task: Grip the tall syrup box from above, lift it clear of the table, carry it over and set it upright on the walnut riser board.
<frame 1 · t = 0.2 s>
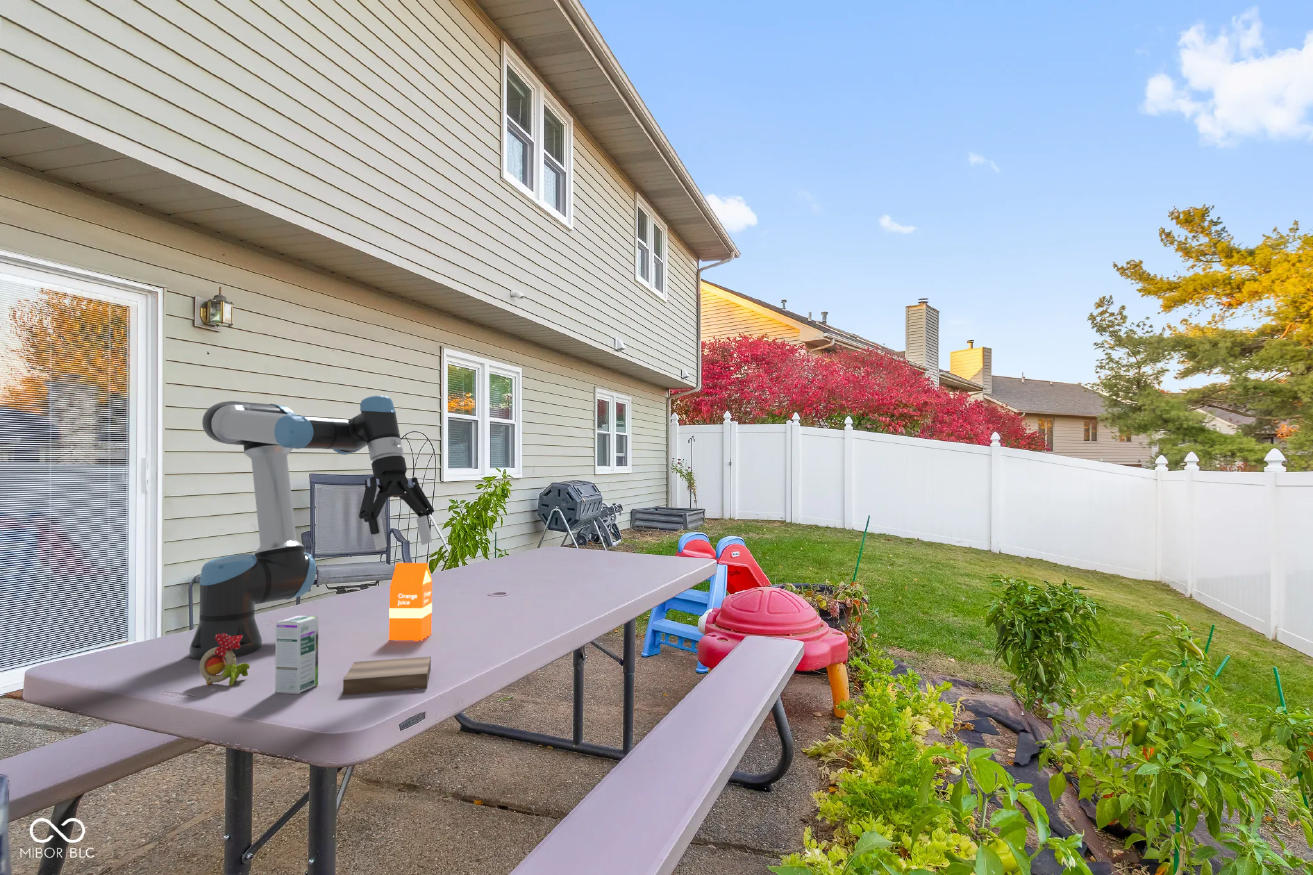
hand: (405, 545, 155), 28 cm above the table, tool tilted 20°, fingers open, 13 cm apart
syrup box: (296, 690, 138), on the table
orange juice: (410, 638, 181), on the table
walnut riser: (389, 681, 143), on the table
bird rattle: (222, 684, 141), on the table
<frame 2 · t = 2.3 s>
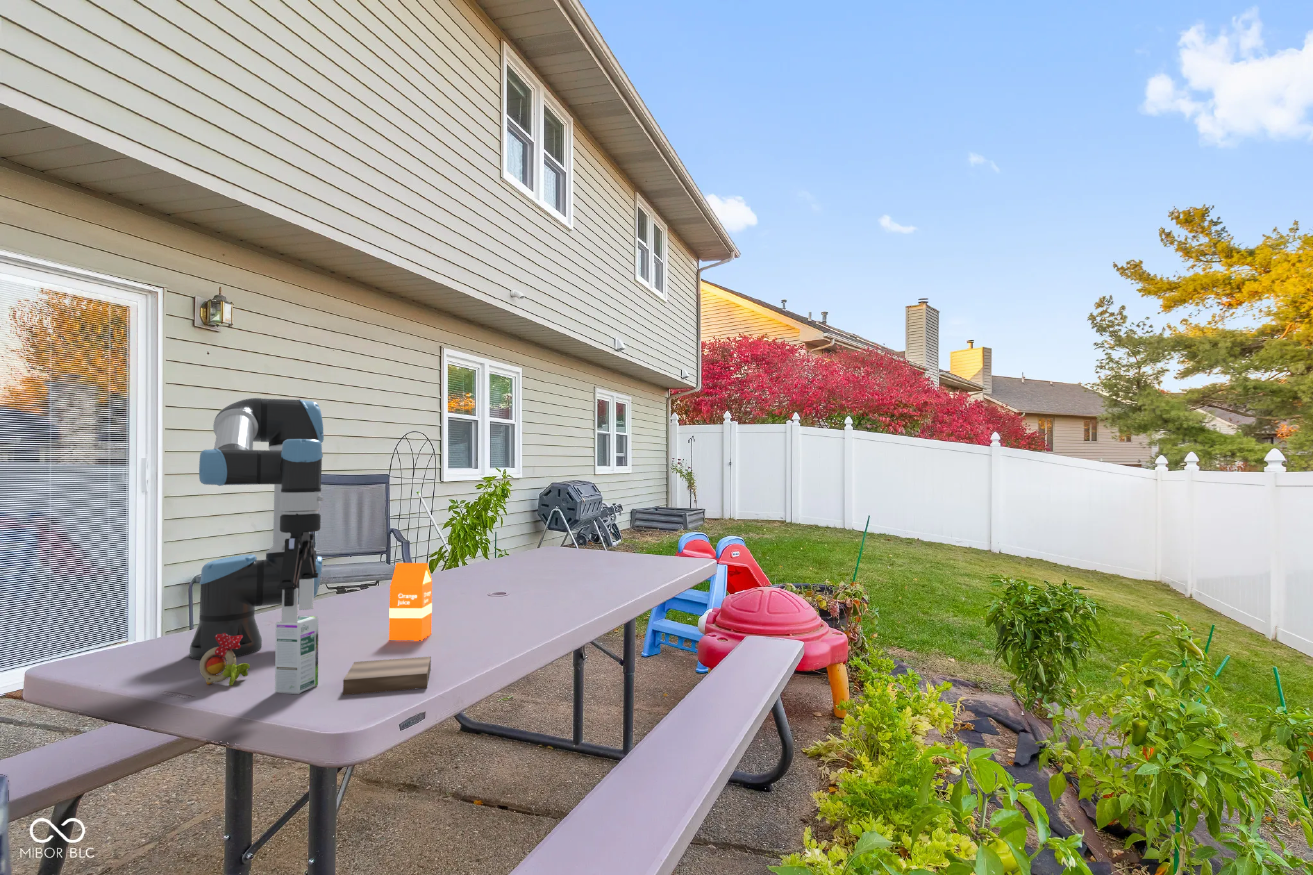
hand: (298, 615, 138), 15 cm above the table, tool pointing down, fingers open, 13 cm apart
nothing on the table moved.
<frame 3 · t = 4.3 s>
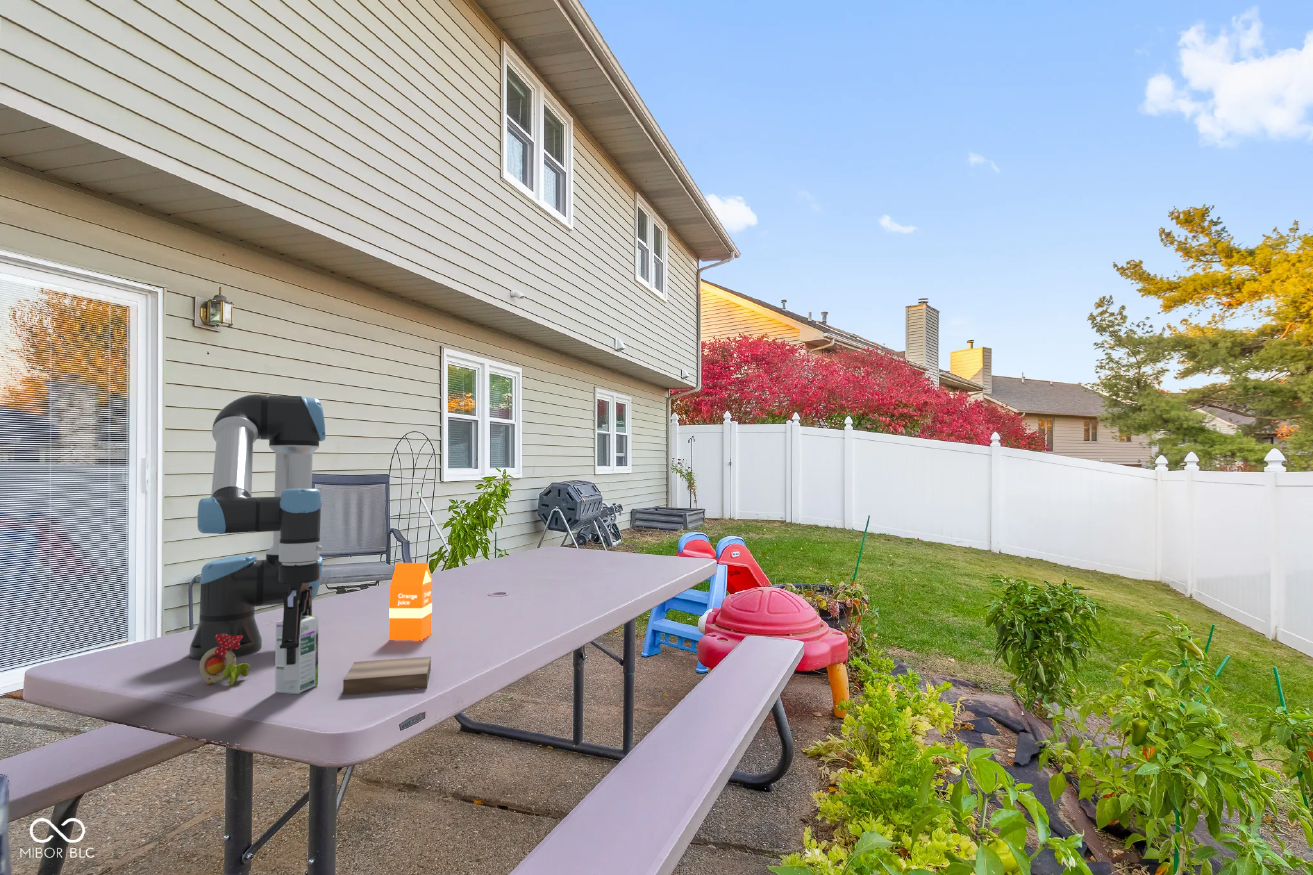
hand: (296, 673, 138), 3 cm above the table, tool pointing down, fingers closed on syrup box, 7 cm apart
syrup box: (296, 690, 138), on the table, touching gripper
everything else where it was.
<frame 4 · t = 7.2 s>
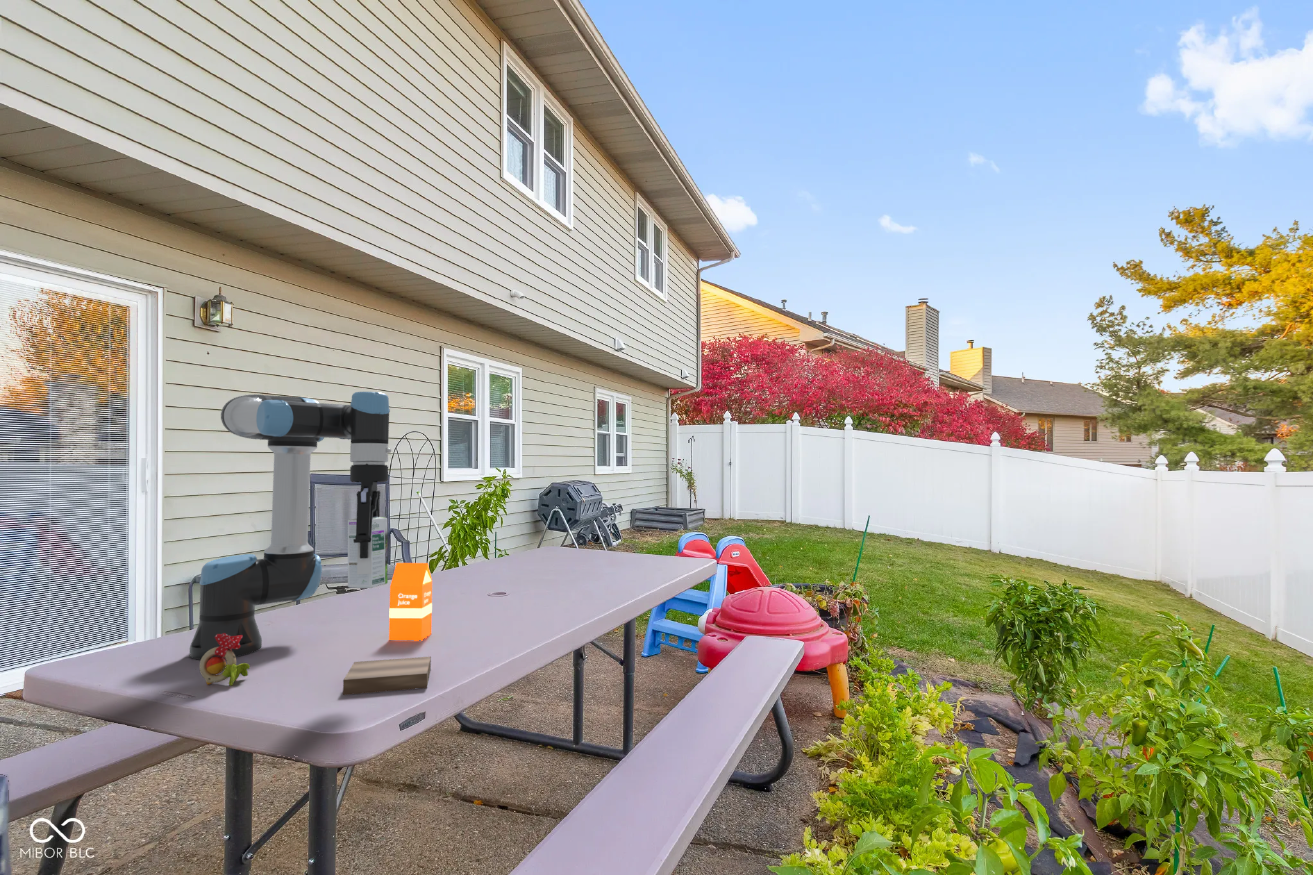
hand: (367, 571, 142), 24 cm above the table, tool pointing down, fingers closed on syrup box, 7 cm apart
syrup box: (367, 586, 142), point 20 cm above the table, touching gripper
everything else where it was.
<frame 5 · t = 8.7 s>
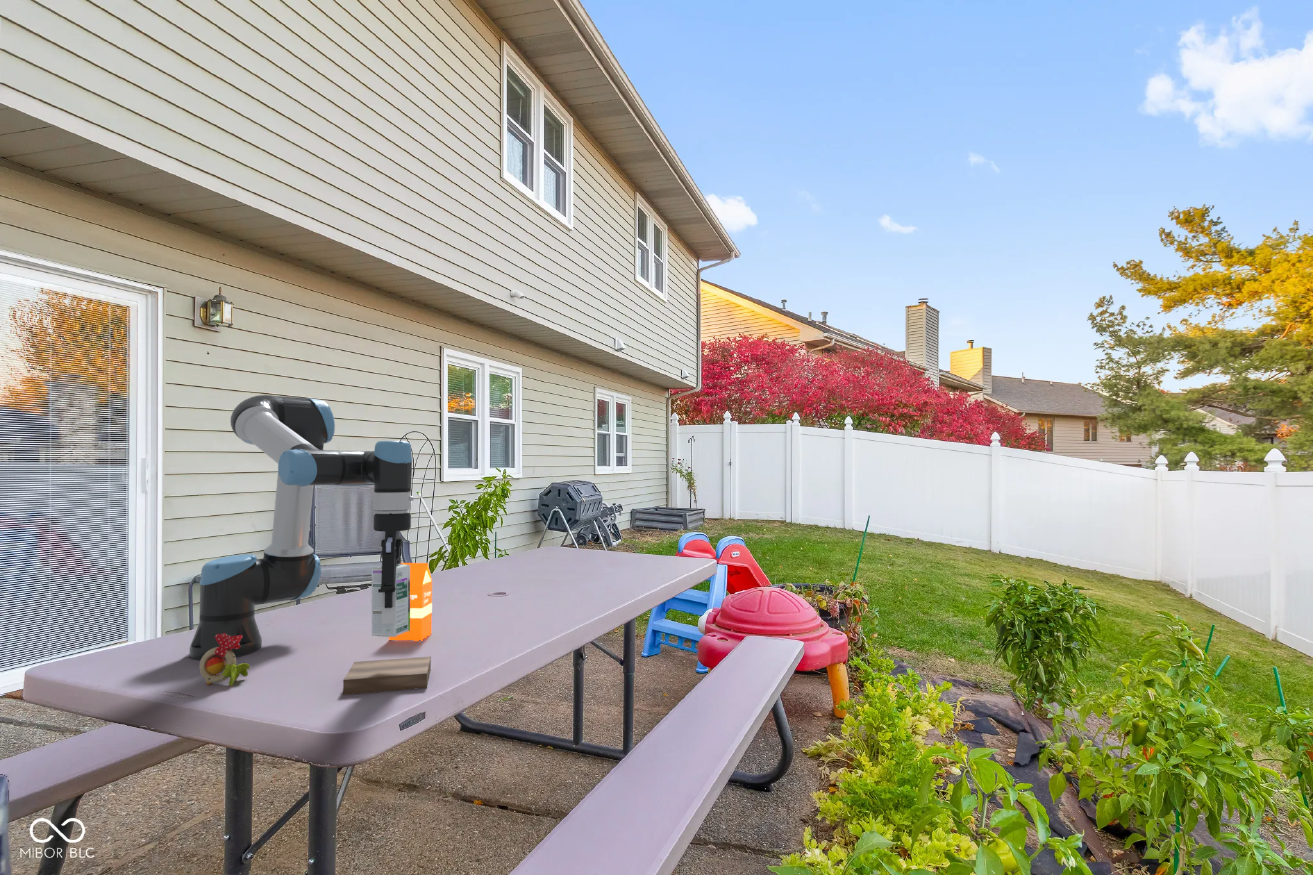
hand: (390, 618, 143), 13 cm above the table, tool pointing down, fingers closed on syrup box, 7 cm apart
syrup box: (390, 634, 143), point 10 cm above the table, touching gripper
everything else where it was.
when the fingers open (8 cm above the table, at t = 10.0 s): syrup box drops 1 cm, resting on walnut riser.
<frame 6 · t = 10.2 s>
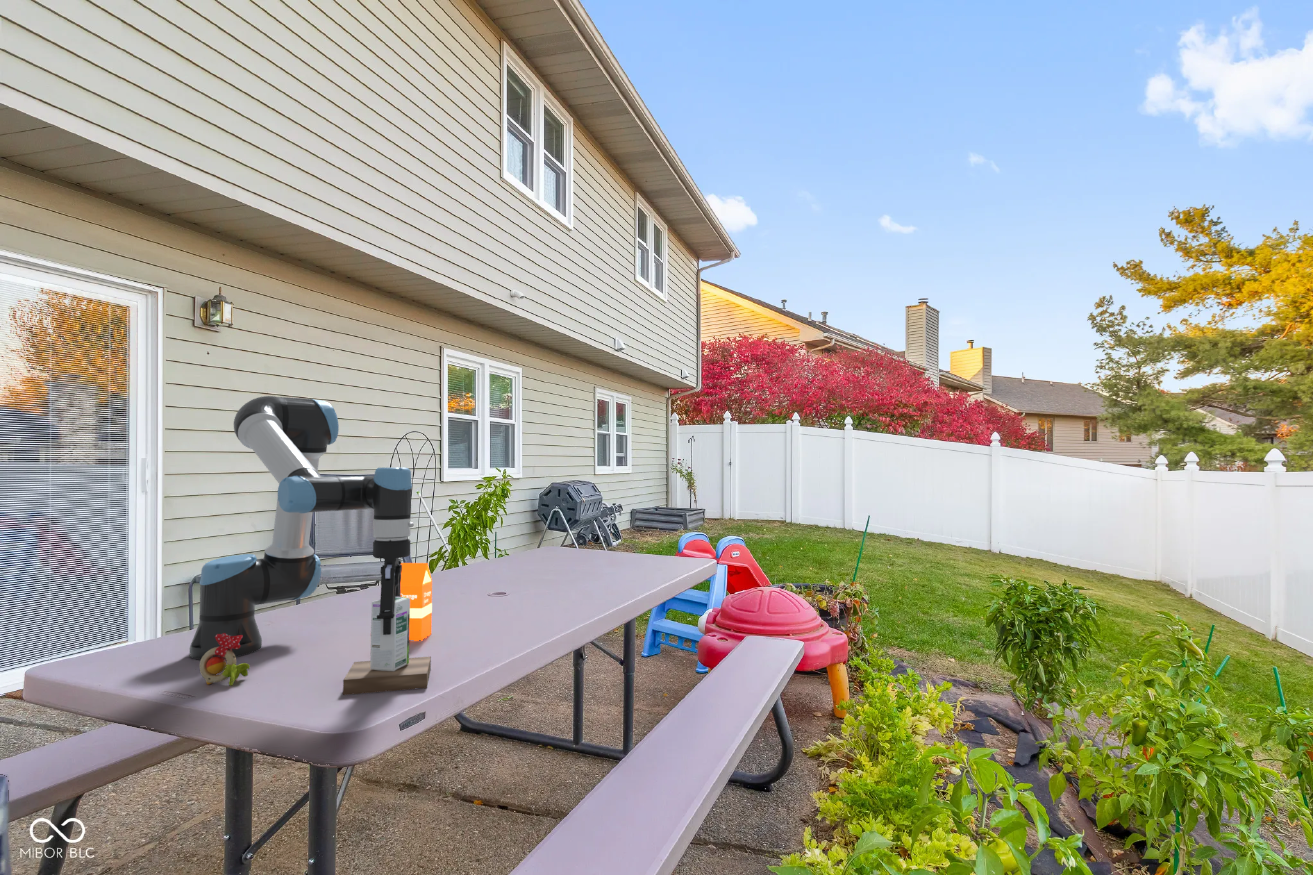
hand: (390, 643, 143), 8 cm above the table, tool pointing down, fingers open, 9 cm apart
syrup box: (389, 667, 143), point 3 cm above the table, touching walnut riser
everything else where it was.
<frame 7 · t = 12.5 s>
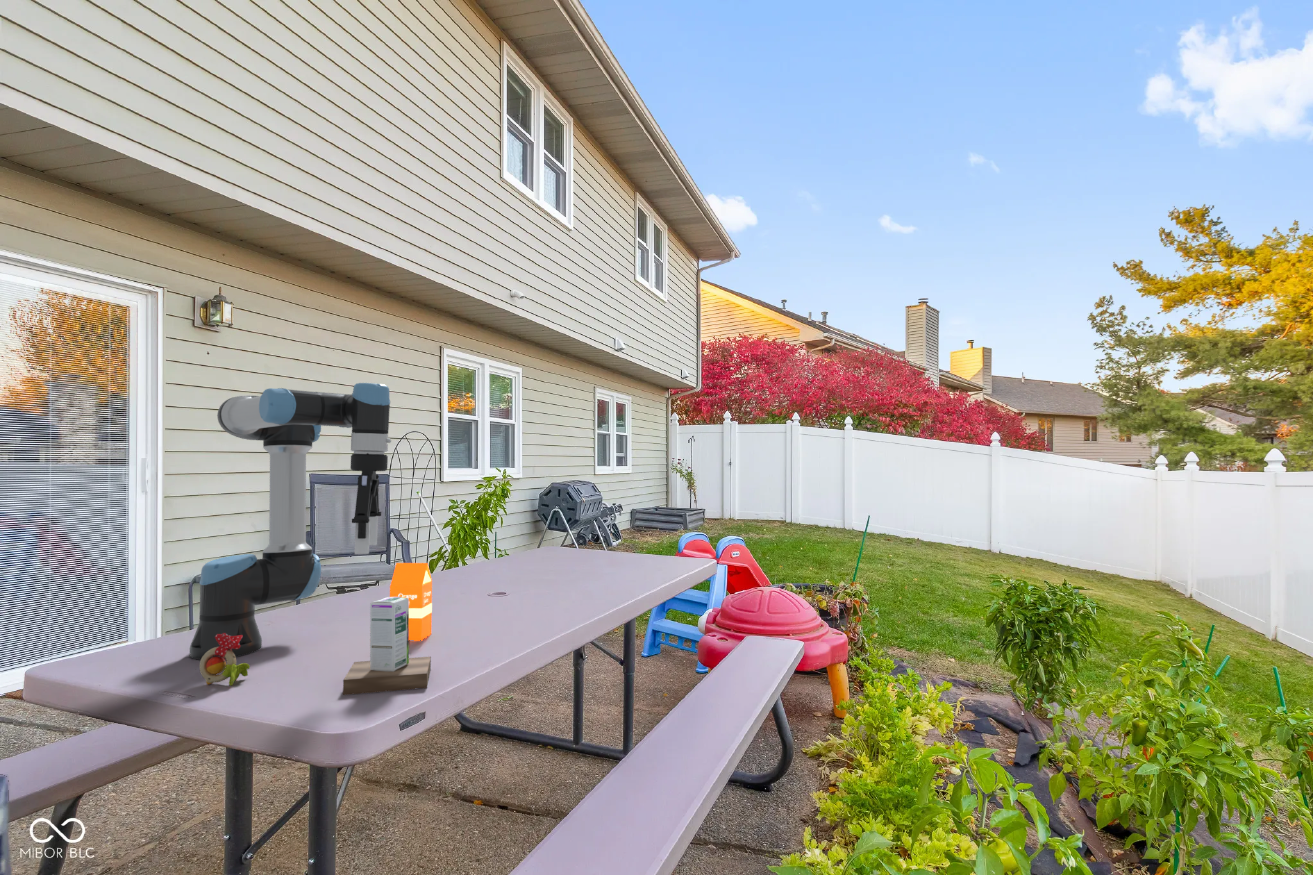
hand: (366, 549, 147), 28 cm above the table, tool pointing down, fingers open, 13 cm apart
nothing on the table moved.
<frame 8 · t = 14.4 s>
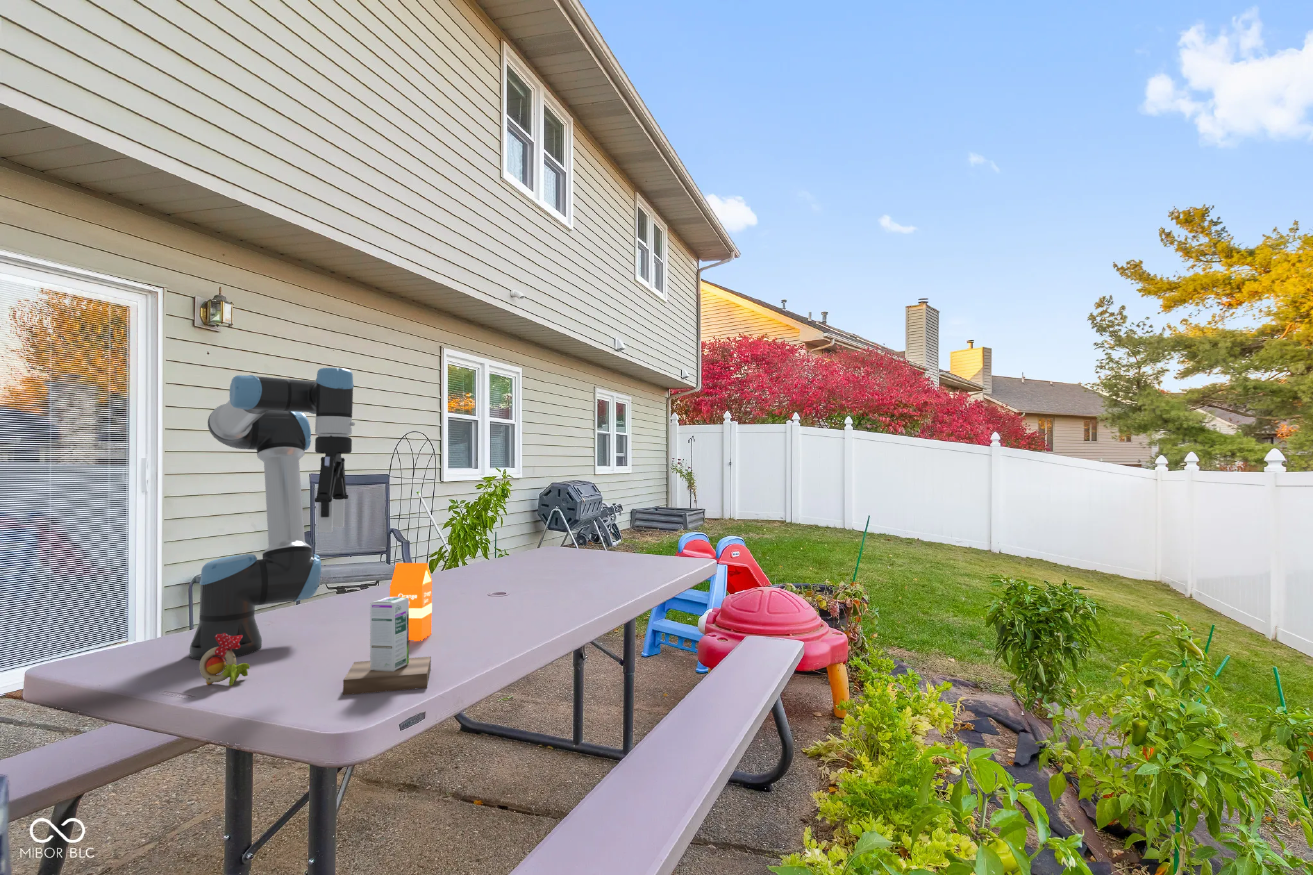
hand: (331, 529, 151), 32 cm above the table, tool pointing down, fingers open, 13 cm apart
nothing on the table moved.
at the end: syrup box inside the target area on the walnut riser (0.1 cm from its centre), point 2.8 cm above the walnut riser's base; syrup box tilted 0°; the gripper is holding nothing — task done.
